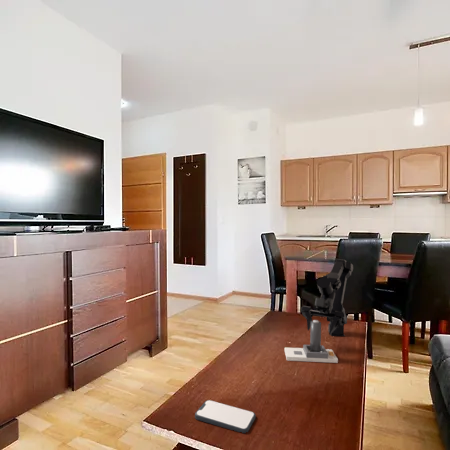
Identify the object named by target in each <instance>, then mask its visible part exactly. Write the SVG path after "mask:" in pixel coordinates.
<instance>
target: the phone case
mask: <svg viewBox="0 0 450 450" xmlns="http://www.w3.org/2000/svg"><path fill="white" fill-rule="evenodd" d="M256 416H257V415H256V413H255V412H253V411H251V410H247V409H244V408H239V407H237V406H236V407H235V406H232V405H229V404H226V403H222V402H217V401H215V400H212V399H211V400H210V399H208V400H205V401H204V402H203V403H202V405H201V406H200V407H199V408H198V409H197V410H196V411H195V413H194V418H195V420H196V421H200V422H203V423H207V424H210V425H214V426H217V427H220V428H223V429H226V430H227V429H228V430H231V431H233V430H234V432H238V433H240V432H242V433H241V434H246V432H247V433H248V432H250V429H251V427H252V426H253V423H254V422H255V420H256Z"/></svg>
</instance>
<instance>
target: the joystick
mask: <svg viewBox="0 0 450 450" xmlns="http://www.w3.org/2000/svg"><path fill="white" fill-rule="evenodd" d="M309 331H310V339H309V341H310V342H309V345H310V352H321V345H322V322H321V321H319V320H318V319H312V321H311V326H310V329H309Z"/></svg>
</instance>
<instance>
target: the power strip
mask: <svg viewBox="0 0 450 450" xmlns="http://www.w3.org/2000/svg"><path fill="white" fill-rule="evenodd" d="M284 354H285V359H286V361H287V362H288V361H289V362H290V361H291V362H309V363H312V362H314V363H328V364H329V363H331V364H332V363H334V364H338V362H339V358H338V357H337V356H336V354H335V353H334V350H333V349H329V348H327V349H326V348H325V346H324V345H322V344H321V352H310V344H303V345H302V347H284Z"/></svg>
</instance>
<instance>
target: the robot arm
mask: <svg viewBox="0 0 450 450" xmlns="http://www.w3.org/2000/svg"><path fill="white" fill-rule="evenodd" d="M353 270H354V265H353V264H352V262H351V261H347V260H345V259H340V258H339V259H335V260H334V264H333V267H332V268H331V270H330V273H327V274H326V275H323V277H319V279H318V280H317V281H316V285H317V289H318V290H319V293H320V294H321V295H320V298H318V297H316V298H315V301H314V306H315V309H316V310H313V309H312V307H311V306H307V305H302V306H301V307H300V308H301V309H300V311H301V314H302V316H303V317H304V318H305V320H306V324H307V325H306V326H307V327H306V328H307V331H310V329H311V321H313V316H318V317H324V318H326V322H329V323H328V328H327V330H328V331H327V332H328V334H329V336H331V337H345V336H346V335H345V334H344V333H345V330H344V329H345V325H347V324H348V318H347V315H346V310H345V308H344V305H343V303H344V297H345V292H346V285H347V280H348V279H349V278H350V277H351V276H352V273H353Z"/></svg>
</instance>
